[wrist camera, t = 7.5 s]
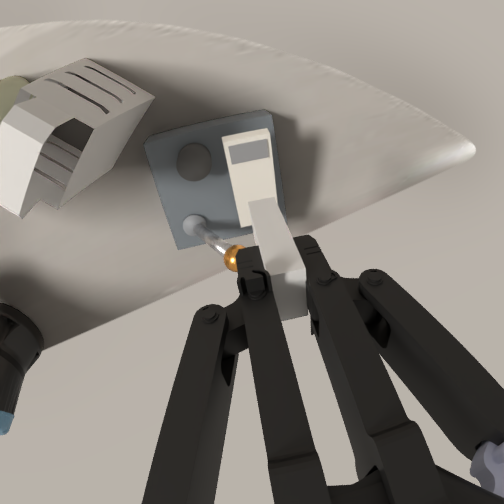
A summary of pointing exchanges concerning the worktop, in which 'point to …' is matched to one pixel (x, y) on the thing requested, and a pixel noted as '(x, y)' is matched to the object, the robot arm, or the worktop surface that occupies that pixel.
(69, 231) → the worktop surface
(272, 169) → the white flat bar
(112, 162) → the grater
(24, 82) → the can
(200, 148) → the button
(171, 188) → the panel
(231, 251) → the lever
